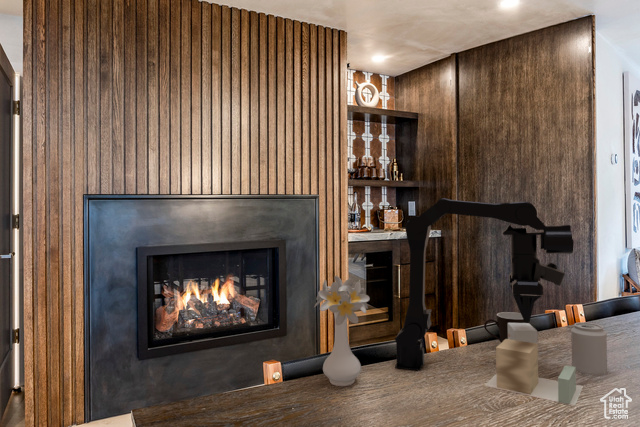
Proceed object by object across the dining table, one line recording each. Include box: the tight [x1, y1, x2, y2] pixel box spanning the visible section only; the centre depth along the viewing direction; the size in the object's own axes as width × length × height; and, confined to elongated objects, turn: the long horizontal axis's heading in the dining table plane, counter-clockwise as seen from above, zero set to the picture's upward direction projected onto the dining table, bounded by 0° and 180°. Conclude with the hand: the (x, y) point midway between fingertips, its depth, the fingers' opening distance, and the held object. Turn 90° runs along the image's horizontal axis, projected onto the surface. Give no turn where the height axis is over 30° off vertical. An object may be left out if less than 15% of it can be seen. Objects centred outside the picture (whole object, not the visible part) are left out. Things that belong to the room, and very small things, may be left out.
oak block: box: [495, 339, 539, 394], centre depth 100 cm, size 7×8×9 cm
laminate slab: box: [484, 373, 584, 407], centre depth 99 cm, size 18×12×1 cm, turn 52°
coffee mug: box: [483, 311, 526, 343], centre depth 128 cm, size 12×9×10 cm
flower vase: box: [313, 275, 371, 387], centre depth 106 cm, size 13×18×25 cm
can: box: [570, 321, 608, 376], centre depth 109 cm, size 8×8×12 cm
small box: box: [508, 322, 539, 345], centre depth 114 cm, size 8×6×10 cm
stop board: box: [557, 365, 577, 405], centre depth 94 cm, size 2×9×5 cm, turn 142°
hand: (525, 317), depth 106 cm, fingers open, 9 cm apart
